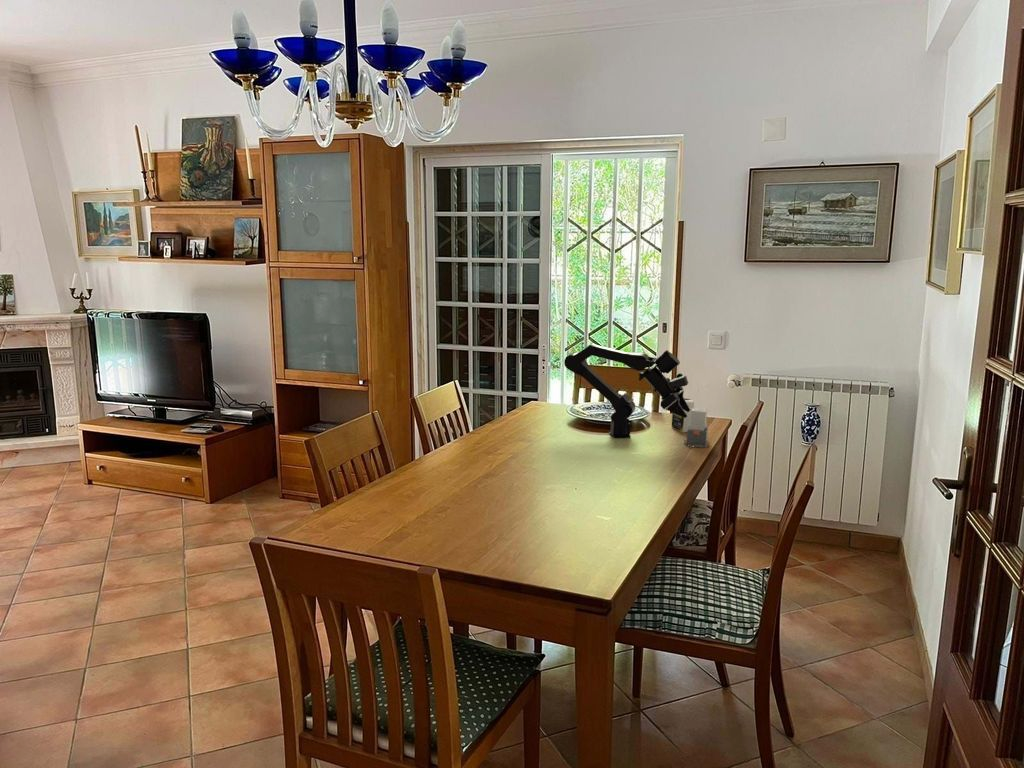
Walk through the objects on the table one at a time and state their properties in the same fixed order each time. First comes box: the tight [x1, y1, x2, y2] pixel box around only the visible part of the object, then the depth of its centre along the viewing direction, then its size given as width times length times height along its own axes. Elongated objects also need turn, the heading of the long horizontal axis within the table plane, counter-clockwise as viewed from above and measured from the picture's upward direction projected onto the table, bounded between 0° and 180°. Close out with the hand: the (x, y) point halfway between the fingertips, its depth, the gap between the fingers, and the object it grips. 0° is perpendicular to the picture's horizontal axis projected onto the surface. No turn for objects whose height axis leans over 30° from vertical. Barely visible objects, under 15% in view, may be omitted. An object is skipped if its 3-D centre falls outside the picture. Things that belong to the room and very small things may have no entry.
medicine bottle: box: [671, 398, 695, 433], centre depth 286 cm, size 7×7×12 cm
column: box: [690, 407, 708, 432], centre depth 267 cm, size 5×5×12 cm
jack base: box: [683, 426, 711, 448], centre depth 268 cm, size 9×9×6 cm
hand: (687, 414), depth 267 cm, fingers open, 9 cm apart
